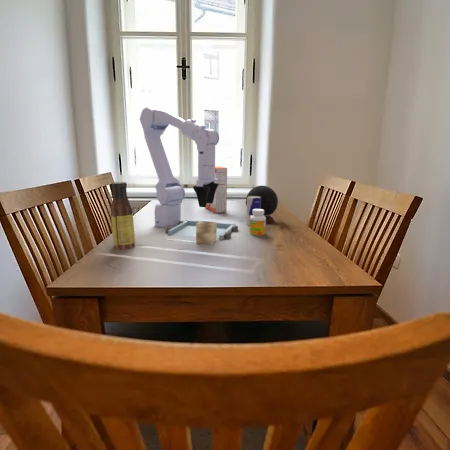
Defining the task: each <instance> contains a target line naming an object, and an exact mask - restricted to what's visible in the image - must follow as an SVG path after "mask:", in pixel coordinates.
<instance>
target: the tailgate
mask: <svg viewBox="0 0 450 450" xmlns="http://www.w3.org/2000/svg"><path fill="white" fill-rule="evenodd" d="M164 240H165V241H173V242H182V243H195V244H197V243H196V240H188V239H180V238H179V239H178V238H168V237H167V238H165V239H164ZM200 244H202V243H200ZM202 245H203V244H202ZM210 245H215V242H214V243H213V244H210Z"/></svg>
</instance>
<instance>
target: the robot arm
mask: <svg viewBox="0 0 450 450" xmlns="http://www.w3.org/2000/svg"><path fill="white" fill-rule="evenodd" d="M139 121H140V125H141V128H142V130H143V136H144V140H145V142H146V145H147V148H148V152H149V155H150V158H151V161H152V164H153V167H154V170H155V173H156V175H157V178H158V182H157V183H156V185H154V187H155V191H156V199H157V201H158V203H156V204H155V205H154V227H159V228H160V227H161V228H162V227H163V228H167V227H169V226H177V225H178V222H179V221H182V211H181V210H182V203H183V200H184V199H185V196H186V190H185V188H184V187H183V185H182V183H181V182H180V180H179V179H177V178H176V177H175V176H174V175H173V171H172V169H171V166H170V163H169V160H168V157H167V155H166V152H165V148H164V146H163V142H162V140H161V136H162V135H163V134H164V133H165V132H166V130H167V128H168V127H169V125H170V126H172V127H174V128H176V129H179V130H180V132H181V134H182V135H183V136H185V137H187V138H188V139H190V140H192V141H194V142H195V144H196V150H197V152H198V153H197V160H198V162H197V166H198V167H197V179H196V182H195V183H196V185H193V186H192V189H193V191H194V192H195V195H196V198H197V202H198V203H197V204H198V206H199V208H205V207H206V204H207V203H210V204H212V203H213V200H214V196H215V192H216V189H217V187H218V185H219V183H214V182H215V181H218V179H215V166H216V146H217V145H218V143H219V141H220V136H219V133H218V131H217V130H215V129H214V128H208V127H207V126H206V125H205V124H200V123H197V120H196V119H194V118H191V119H187V120H186V119H183V118H182V117H179V116H178V115H177V114H175V113H173V112H172V111H170V110H167V109H159V108H151V107H147V106H146V107H145V108H144V107H143V109H142V111H141V114H140V117H139Z"/></svg>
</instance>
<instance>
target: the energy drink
mask: <svg viewBox="0 0 450 450" xmlns="http://www.w3.org/2000/svg"><path fill="white" fill-rule="evenodd" d="M253 209H261V197H259V196H248V198H247V206H246V218H245V220H246V221H245V222H246V223H245V224H246V225H247V226H249V227H250V217H251V216H252V215H253V214H252V211H253Z"/></svg>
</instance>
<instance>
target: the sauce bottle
mask: <svg viewBox="0 0 450 450" xmlns="http://www.w3.org/2000/svg"><path fill="white" fill-rule="evenodd" d="M111 187H112V193H113V194H112V195H113V196H112V197H113V198H112V202H111V204H110V220H111V228H112V229H111V231H112V240H113V246H114V247H113V248H115V249H118V250H128V249H133V248H135V245H136V243H135V242H136V239H135V238H136V237H135V236H136V235H135V226H134V225H135V224H134V213H133V208H132V206H131V202H130V200H129V198H128V193H127V182H126V181H115V182H112V183H111Z"/></svg>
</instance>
